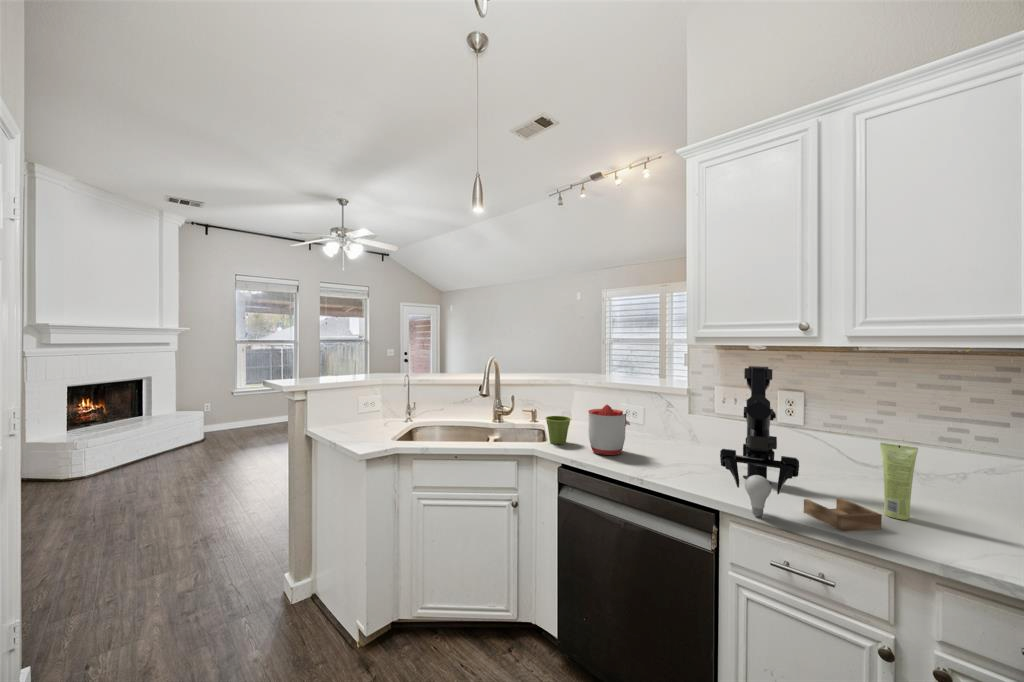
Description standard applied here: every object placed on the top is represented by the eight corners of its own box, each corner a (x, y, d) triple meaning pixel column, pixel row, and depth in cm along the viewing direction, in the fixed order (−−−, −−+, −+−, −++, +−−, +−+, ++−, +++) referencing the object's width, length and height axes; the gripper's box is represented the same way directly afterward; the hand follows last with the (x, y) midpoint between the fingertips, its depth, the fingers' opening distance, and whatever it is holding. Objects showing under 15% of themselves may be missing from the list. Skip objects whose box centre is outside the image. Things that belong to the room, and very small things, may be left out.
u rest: (803, 512, 115) (803, 499, 115) (840, 510, 117) (840, 497, 117) (841, 531, 104) (841, 516, 104) (881, 528, 105) (881, 514, 105)
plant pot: (542, 444, 186) (542, 419, 186) (547, 438, 197) (548, 415, 197) (568, 447, 182) (569, 421, 182) (572, 440, 194) (573, 416, 193)
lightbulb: (741, 516, 112) (741, 475, 112) (748, 509, 116) (749, 470, 116) (767, 523, 108) (767, 481, 108) (773, 516, 112) (774, 475, 112)
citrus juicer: (634, 457, 167) (635, 407, 167) (590, 457, 167) (591, 407, 167) (624, 447, 182) (625, 401, 182) (584, 447, 183) (585, 401, 183)
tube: (898, 512, 116) (899, 442, 115) (917, 520, 110) (918, 446, 110) (879, 512, 115) (880, 442, 115) (897, 521, 110) (898, 447, 110)
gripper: (720, 420, 121) (717, 468, 111) (799, 428, 111) (802, 481, 102) (722, 442, 128) (719, 489, 118) (796, 451, 118) (799, 502, 109)
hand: (757, 490), depth 111 cm, fingers open, 9 cm apart
